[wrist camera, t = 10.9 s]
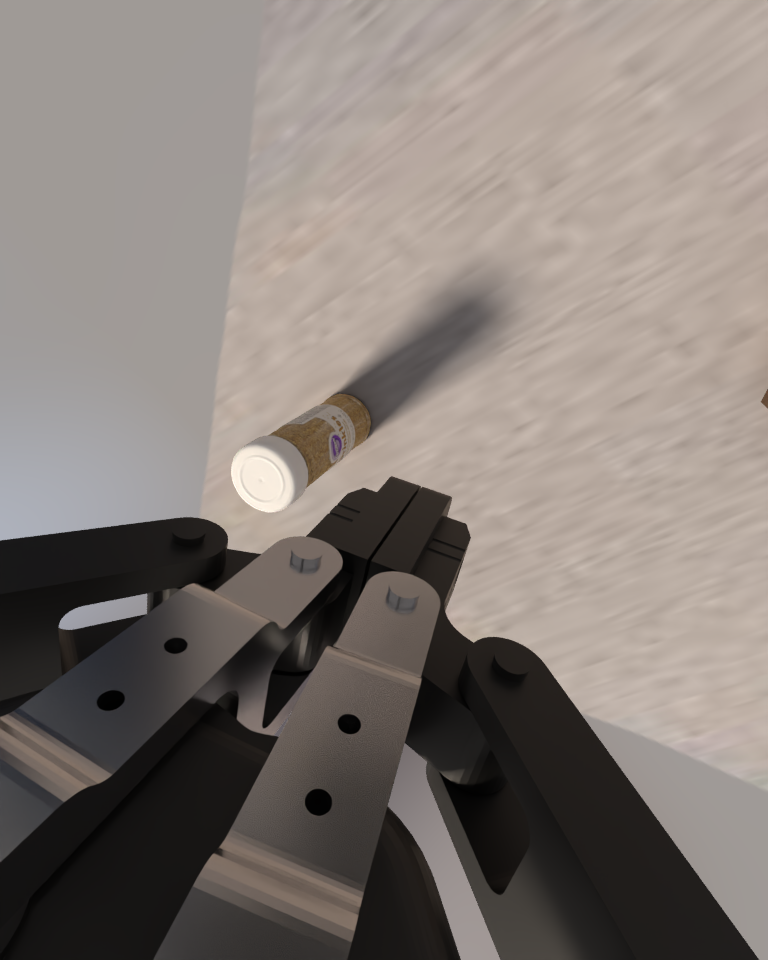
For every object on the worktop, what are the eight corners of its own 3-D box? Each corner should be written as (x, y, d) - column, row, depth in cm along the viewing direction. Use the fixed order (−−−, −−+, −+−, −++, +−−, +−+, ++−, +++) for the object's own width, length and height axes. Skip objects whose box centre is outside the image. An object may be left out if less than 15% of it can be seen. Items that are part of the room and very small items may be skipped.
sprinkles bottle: (379, 439, 45) (305, 508, 33) (331, 451, 47) (245, 520, 35) (361, 385, 44) (277, 437, 32) (312, 399, 46) (216, 453, 34)
